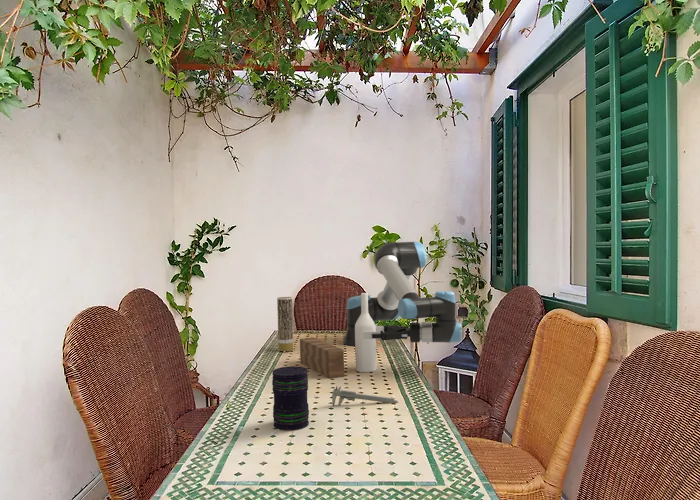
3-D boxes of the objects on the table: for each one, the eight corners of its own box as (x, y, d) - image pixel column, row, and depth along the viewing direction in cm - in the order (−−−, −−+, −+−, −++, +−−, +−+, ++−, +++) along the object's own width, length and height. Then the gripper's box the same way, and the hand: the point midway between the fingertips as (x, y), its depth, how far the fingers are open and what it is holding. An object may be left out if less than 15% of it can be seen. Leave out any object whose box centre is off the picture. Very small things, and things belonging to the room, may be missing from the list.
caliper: (332, 407, 160) (332, 386, 159) (332, 406, 161) (331, 385, 161) (398, 403, 162) (397, 383, 162) (397, 402, 163) (397, 382, 163)
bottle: (352, 371, 203) (350, 293, 202) (361, 366, 210) (359, 292, 210) (371, 373, 199) (369, 294, 199) (379, 368, 206) (378, 292, 206)
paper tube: (294, 349, 248) (293, 296, 247) (291, 352, 241) (290, 298, 240) (280, 349, 248) (279, 296, 248) (277, 352, 241) (275, 298, 241)
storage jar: (294, 433, 137) (292, 376, 137) (265, 427, 143) (264, 372, 142) (316, 421, 146) (315, 368, 146) (288, 416, 151) (287, 364, 151)
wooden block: (300, 362, 219) (299, 338, 219) (313, 361, 222) (313, 337, 222) (329, 378, 192) (328, 351, 192) (344, 376, 195) (343, 349, 195)
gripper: (420, 348, 188) (361, 348, 191) (421, 336, 213) (369, 336, 216) (419, 328, 188) (361, 327, 191) (420, 317, 213) (368, 318, 216)
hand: (365, 332), depth 204 cm, fingers open, 13 cm apart
